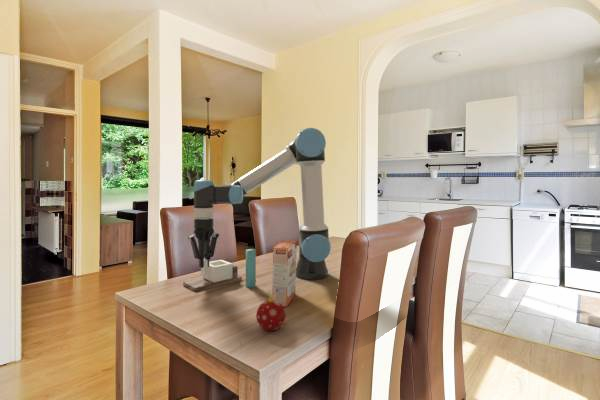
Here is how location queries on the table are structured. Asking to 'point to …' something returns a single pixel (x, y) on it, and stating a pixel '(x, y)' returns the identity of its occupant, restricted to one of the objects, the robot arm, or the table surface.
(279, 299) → the cracker box
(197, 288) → the rail board
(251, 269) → the dowel
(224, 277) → the block
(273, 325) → the christmas ornament
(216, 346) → the table surface
